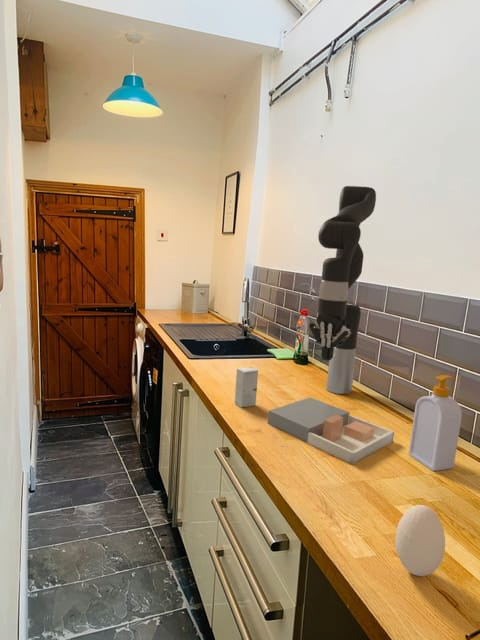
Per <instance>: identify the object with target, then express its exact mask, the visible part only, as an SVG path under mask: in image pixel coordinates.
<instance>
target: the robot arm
mask: <svg viewBox="0 0 480 640" xmlns="http://www.w3.org/2000/svg"><path fill="white" fill-rule="evenodd" d="M376 201H377V193H376V190H375V189H374V187H369V186H357V185H355V186H354V185H345V186H343V188H342V189H341V191H340V194H339V202H338V212H337V214H336V216H333V217H331V218H329V219H326V220H325V221H324V222H323V224H322V225H321V226H320V228H319V230H318V234H317V235H318V236H317V237H318V238H317V239H318V242H319V244H320V245H321V246H322V247H323V248H325V249H331V250H333V249H334V250H336V253H335V257H328V258H326V259H324V260H323V263H322V270H321V271H322V272H321V281H320V285H319V291H318V302H317V303H318V304H317V314H318V315H317V317H316V320H315V321H314V322H311V323H308V327H309V329H310V330H311V333H312V335H313V338H314V339H315V342H316V343H318V344H320V345H321V358H322V360H324V361H326V362H328V369H327V379H326V388H325V389H326V390H327V391H328V392H330V393H333V394H337V395H349V394H351V392H352V390H353V383H354V376H355V359H356V351H357V342H358V341H357V340H358V332H359V328H360V327H359V326H360V320H361V314H362V313H361V312H362V311H361V307H360V305H357V304H348V295H349V289H350V288H351V287H352V286H353V285H354V284H355V282H356V281H358V279H359V278H360V276H361V274H362V270H363V264H364V263H363V262H364V252H363V250H362V246H361V245H360V239H361V235H362V233H361V232H362V231H361V228H360V226H361V224H362V223H363V222H364V221H366V220H367V219H368V218H369V217H370V216H371V215H372V214H373V213H374V210H375V207H376ZM339 334H340V335H339Z"/></svg>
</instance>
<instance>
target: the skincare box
mask: <svg viewBox="0 0 480 640" xmlns="http://www.w3.org/2000/svg"><path fill="white" fill-rule="evenodd" d="M258 376H259V370H258V369H257V368H254V367H251V366H250V367H240V368H237V369H236V376H235V377H236V378H235V393H234V404H235V405H237V406H238V407H239V408H245V407H246V408H247V407H253V406H256V405H257V402H256V401H257V391H258V390H257V389H258V380H259V379H258V378H259V377H258Z"/></svg>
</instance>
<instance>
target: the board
mask: <svg viewBox="0 0 480 640" xmlns="http://www.w3.org/2000/svg"><path fill="white" fill-rule="evenodd" d="M334 415H338V416H341V417H343V426H344V425H346V424H348V423H349V416H350V411H347V410H344V409H341V408H339V407H336V406H334V405H331V404H329V403H326V402H323V401H321V400H318V399H316V398H313V397H307V398H304V399H301V400H297V401H294V402H291V403H288V404H286V405H282V406H279V407H276V408H273V409H270V410H268V417H267V424H269V425H271V426H273V427H275V428H277V429H279V430H281V431H283V432H285V433H287V434H290V435H291V436H294V437H295V438H297V439H300V440H301V441H304V442H306V443H308V433H309V432H311V433H313V434H316V435H318V436H321V435H323V427H324V420H325V419H327V418H329V417H332V416H334Z"/></svg>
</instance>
